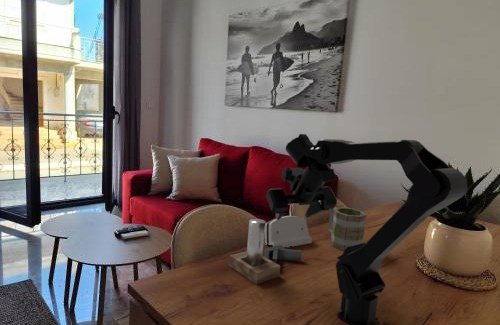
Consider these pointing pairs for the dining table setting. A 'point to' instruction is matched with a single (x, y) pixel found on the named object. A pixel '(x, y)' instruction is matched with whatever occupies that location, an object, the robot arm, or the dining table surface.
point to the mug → (346, 227)
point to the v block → (282, 254)
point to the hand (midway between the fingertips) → (291, 217)
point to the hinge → (287, 232)
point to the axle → (255, 242)
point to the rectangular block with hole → (254, 268)
